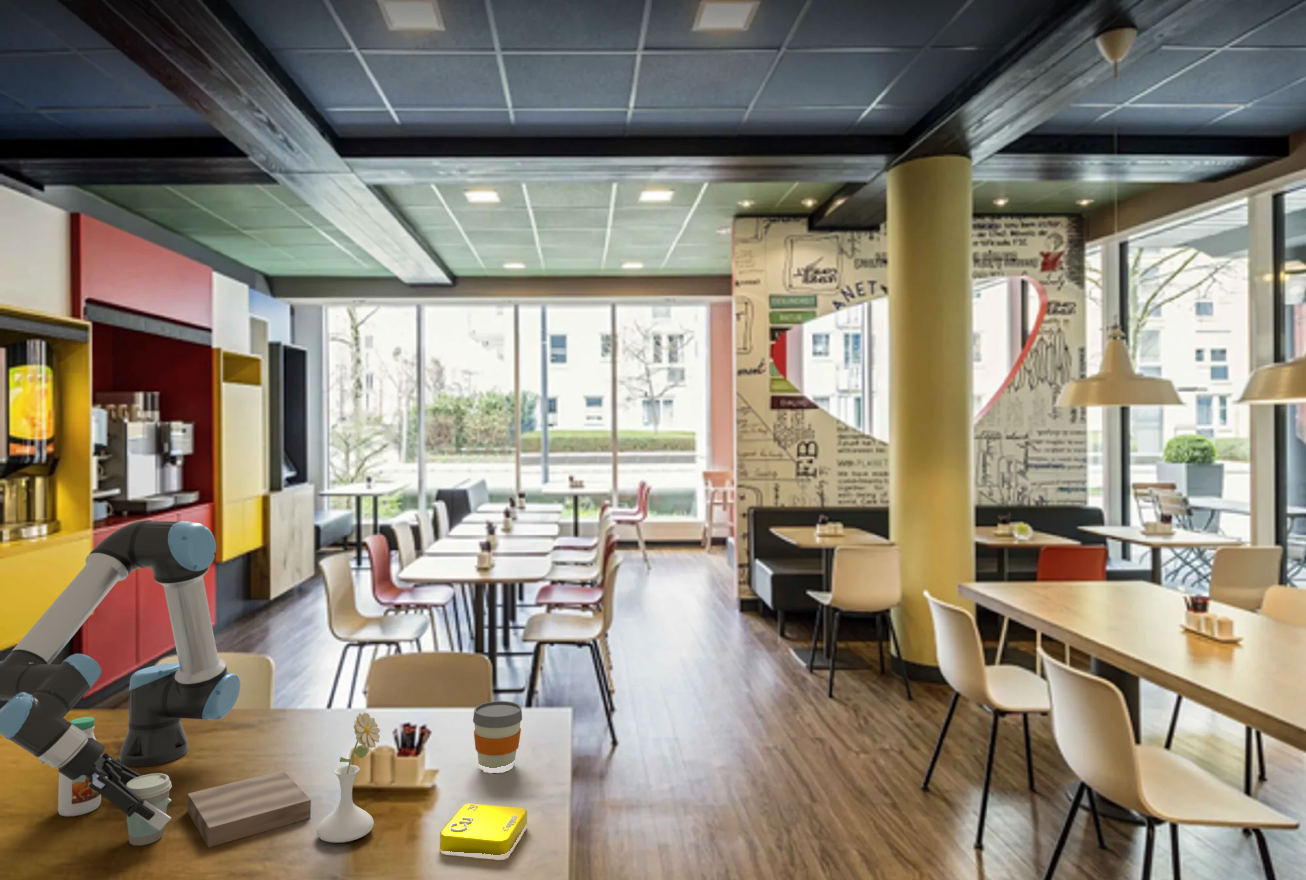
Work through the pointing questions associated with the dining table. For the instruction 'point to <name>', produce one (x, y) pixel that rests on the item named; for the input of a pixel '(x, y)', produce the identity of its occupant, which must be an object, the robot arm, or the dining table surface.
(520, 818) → the element tile
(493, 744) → the reusable coffee cup
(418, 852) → the dining table surface
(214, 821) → the walnut base
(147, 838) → the coffee cup
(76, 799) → the milk bottle
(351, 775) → the flower in vase
